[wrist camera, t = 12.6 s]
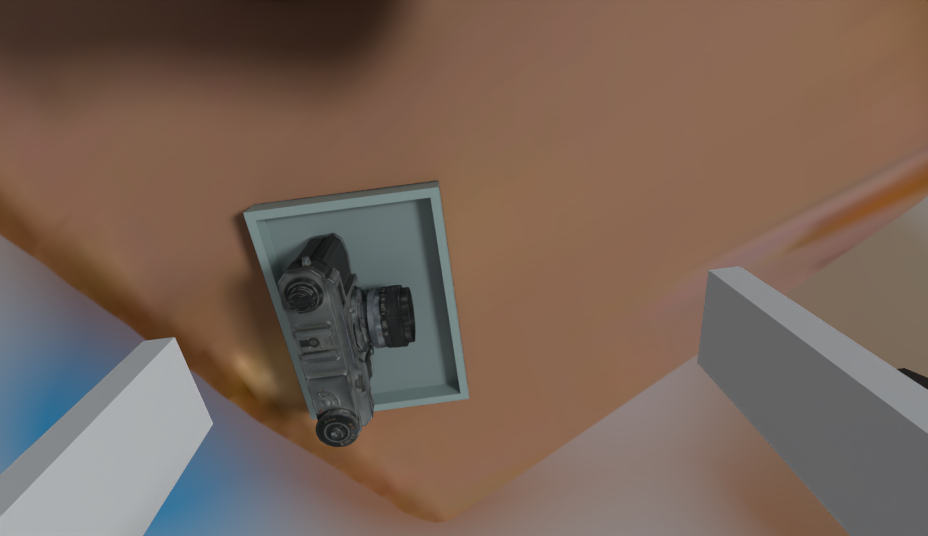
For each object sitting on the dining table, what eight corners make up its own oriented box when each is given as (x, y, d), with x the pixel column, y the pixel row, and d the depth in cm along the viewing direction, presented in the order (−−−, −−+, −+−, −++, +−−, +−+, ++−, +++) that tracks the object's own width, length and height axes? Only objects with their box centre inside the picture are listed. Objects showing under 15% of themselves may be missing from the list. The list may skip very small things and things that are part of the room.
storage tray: (254, 204, 40) (243, 212, 38) (438, 180, 40) (438, 186, 38) (317, 403, 50) (311, 419, 47) (467, 383, 50) (469, 398, 47)
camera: (430, 374, 48) (428, 446, 39) (344, 386, 48) (322, 461, 39) (399, 215, 41) (388, 257, 32) (298, 229, 41) (258, 275, 32)
